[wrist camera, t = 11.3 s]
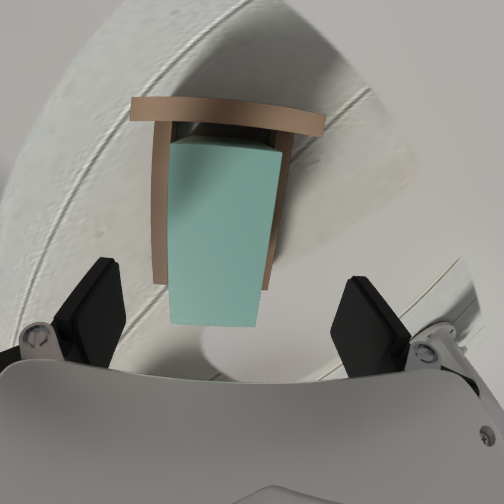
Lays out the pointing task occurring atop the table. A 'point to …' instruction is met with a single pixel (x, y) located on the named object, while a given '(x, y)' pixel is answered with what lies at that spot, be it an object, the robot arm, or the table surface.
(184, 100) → the book slot
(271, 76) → the table surface
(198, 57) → the table surface
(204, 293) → the teal rectangular block
